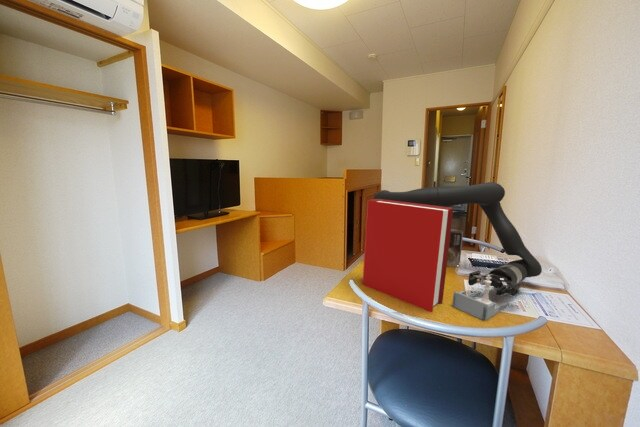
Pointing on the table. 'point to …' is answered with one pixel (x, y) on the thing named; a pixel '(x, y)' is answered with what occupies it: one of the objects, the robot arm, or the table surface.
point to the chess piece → (486, 291)
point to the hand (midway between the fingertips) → (483, 287)
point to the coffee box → (455, 247)
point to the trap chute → (475, 305)
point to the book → (407, 250)
